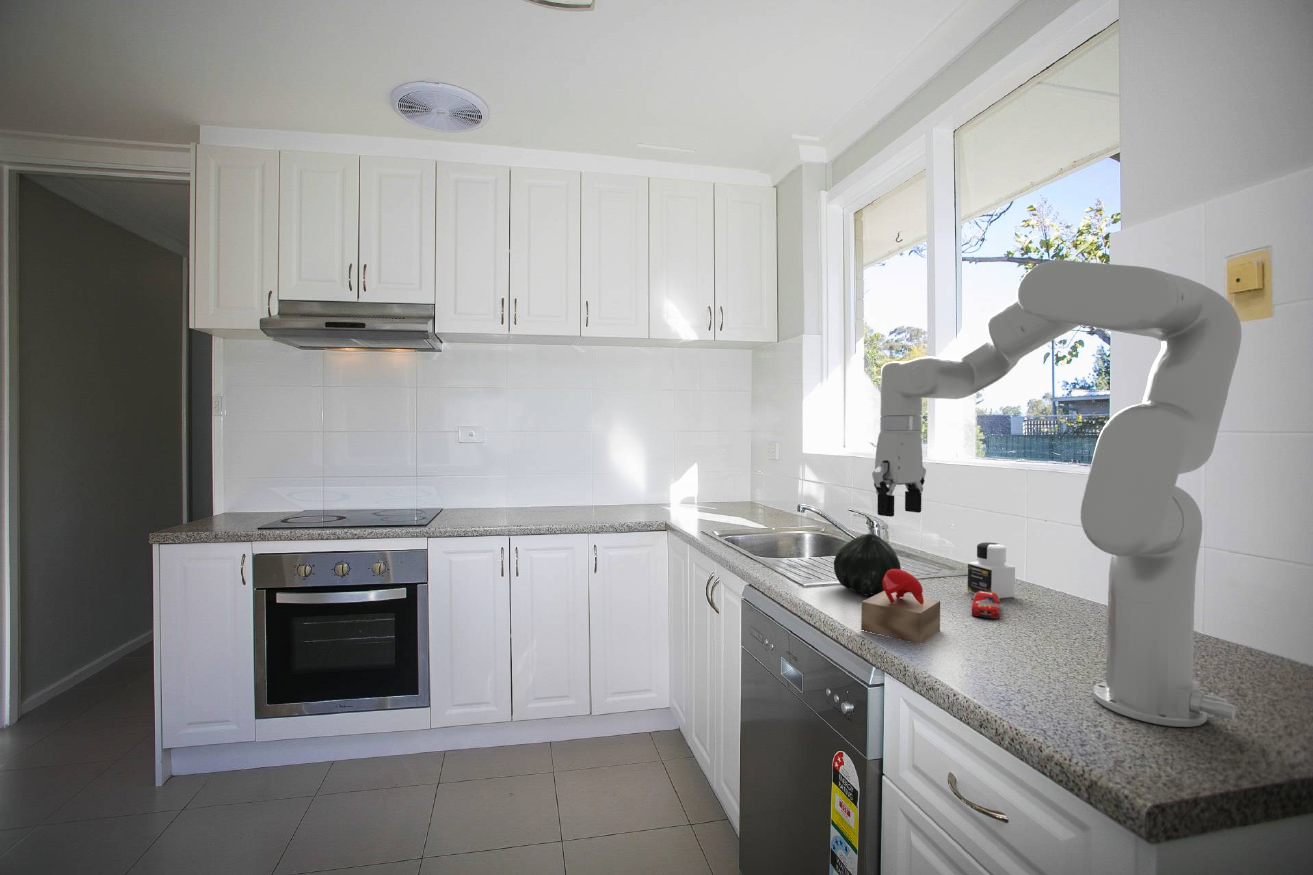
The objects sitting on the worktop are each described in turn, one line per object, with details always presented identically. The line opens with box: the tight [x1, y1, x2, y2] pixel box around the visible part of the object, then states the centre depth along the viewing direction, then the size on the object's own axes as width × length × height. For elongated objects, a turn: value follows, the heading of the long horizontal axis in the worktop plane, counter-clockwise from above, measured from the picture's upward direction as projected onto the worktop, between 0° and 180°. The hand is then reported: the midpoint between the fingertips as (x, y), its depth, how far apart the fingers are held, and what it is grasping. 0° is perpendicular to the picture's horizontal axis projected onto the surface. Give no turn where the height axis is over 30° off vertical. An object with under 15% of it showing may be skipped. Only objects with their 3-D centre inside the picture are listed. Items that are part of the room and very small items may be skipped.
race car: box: [971, 591, 1002, 620], centre depth 136 cm, size 13×5×4 cm, turn 150°
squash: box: [833, 533, 902, 597], centre depth 151 cm, size 14×15×15 cm
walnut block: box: [860, 591, 941, 645], centre depth 122 cm, size 11×11×6 cm
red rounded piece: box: [883, 569, 924, 604], centre depth 122 cm, size 8×6×6 cm
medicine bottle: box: [967, 541, 1016, 600], centre depth 149 cm, size 7×7×12 cm
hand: (899, 513), depth 124 cm, fingers open, 9 cm apart
